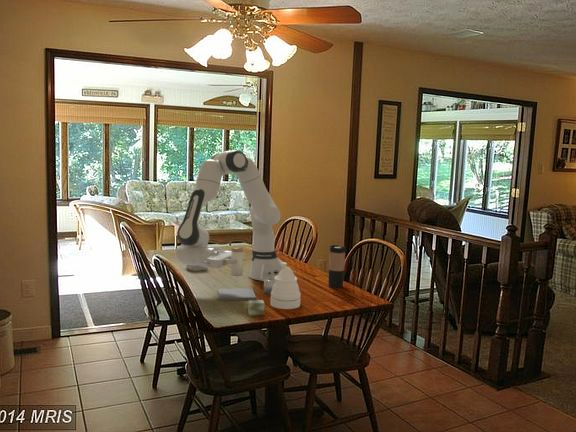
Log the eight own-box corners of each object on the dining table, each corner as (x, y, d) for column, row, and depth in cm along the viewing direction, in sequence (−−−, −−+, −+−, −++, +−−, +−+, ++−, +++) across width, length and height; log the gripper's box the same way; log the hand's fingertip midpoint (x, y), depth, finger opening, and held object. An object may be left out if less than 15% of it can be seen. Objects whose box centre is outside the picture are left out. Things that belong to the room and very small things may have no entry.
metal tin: (275, 290, 240) (276, 278, 239) (277, 294, 234) (278, 281, 234) (263, 290, 239) (263, 278, 238) (264, 294, 233) (265, 281, 232)
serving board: (252, 290, 238) (252, 288, 238) (255, 299, 225) (255, 297, 224) (217, 291, 235) (218, 288, 235) (219, 300, 222) (219, 297, 222)
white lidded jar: (241, 273, 231) (242, 246, 230) (243, 276, 226) (243, 249, 225) (230, 273, 231) (230, 246, 229) (230, 276, 225) (231, 249, 224)
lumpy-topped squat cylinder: (191, 271, 271) (191, 255, 270) (183, 265, 282) (183, 250, 281) (209, 269, 276) (210, 253, 275) (201, 264, 287) (201, 249, 286)
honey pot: (264, 303, 220) (265, 262, 218) (285, 298, 229) (287, 259, 226) (284, 311, 211) (286, 268, 208) (306, 305, 220) (308, 264, 217)
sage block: (262, 311, 209) (263, 300, 209) (264, 315, 205) (264, 303, 205) (248, 312, 208) (248, 300, 207) (249, 315, 204) (249, 303, 204)
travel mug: (330, 288, 247) (333, 248, 244) (325, 284, 254) (327, 245, 252) (345, 288, 249) (347, 248, 246) (340, 284, 256) (342, 245, 254)
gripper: (200, 255, 221) (229, 258, 217) (219, 246, 240) (247, 249, 236) (200, 269, 222) (229, 272, 218) (219, 260, 241) (246, 263, 237)
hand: (238, 260), depth 227 cm, fingers closed on white lidded jar, 5 cm apart
